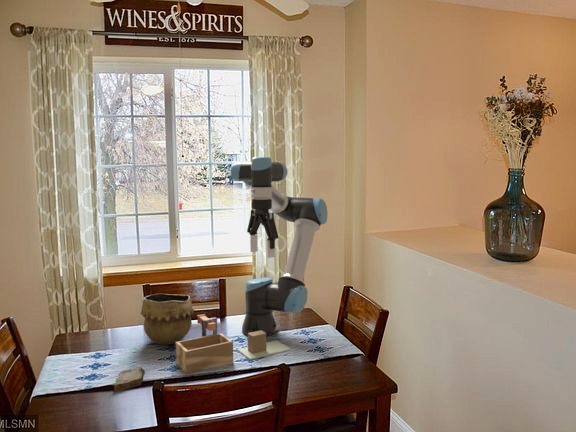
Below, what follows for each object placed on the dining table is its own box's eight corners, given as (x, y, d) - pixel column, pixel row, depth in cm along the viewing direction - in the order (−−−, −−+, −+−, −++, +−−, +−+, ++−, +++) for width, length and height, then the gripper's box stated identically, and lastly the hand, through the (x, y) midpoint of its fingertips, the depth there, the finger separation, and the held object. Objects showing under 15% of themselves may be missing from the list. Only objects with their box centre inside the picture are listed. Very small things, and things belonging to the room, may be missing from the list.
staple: (202, 351, 192) (201, 319, 191) (216, 348, 195) (215, 317, 194) (204, 353, 191) (203, 320, 189) (217, 350, 194) (216, 318, 192)
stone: (121, 374, 174) (121, 365, 173) (145, 372, 175) (145, 364, 175) (113, 393, 159) (112, 384, 159) (139, 391, 160) (139, 382, 160)
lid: (237, 351, 194) (236, 331, 193) (276, 342, 203) (276, 323, 202) (249, 361, 184) (249, 340, 183) (290, 351, 194) (290, 331, 193)
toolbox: (176, 362, 182) (175, 342, 181) (221, 352, 191) (220, 332, 190) (186, 373, 173) (185, 351, 172) (233, 362, 182) (233, 341, 181)
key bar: (197, 323, 199) (197, 315, 198) (204, 321, 200) (204, 314, 200) (208, 331, 189) (208, 323, 188) (216, 330, 190) (216, 322, 190)
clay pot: (161, 331, 215) (159, 286, 213) (204, 337, 208) (202, 290, 206) (130, 348, 196) (128, 299, 194) (177, 355, 189) (175, 304, 187)
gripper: (238, 196, 193) (239, 250, 195) (269, 201, 172) (269, 261, 174) (255, 196, 197) (255, 248, 199) (287, 200, 176) (287, 258, 178)
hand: (262, 254), depth 187 cm, fingers open, 13 cm apart
